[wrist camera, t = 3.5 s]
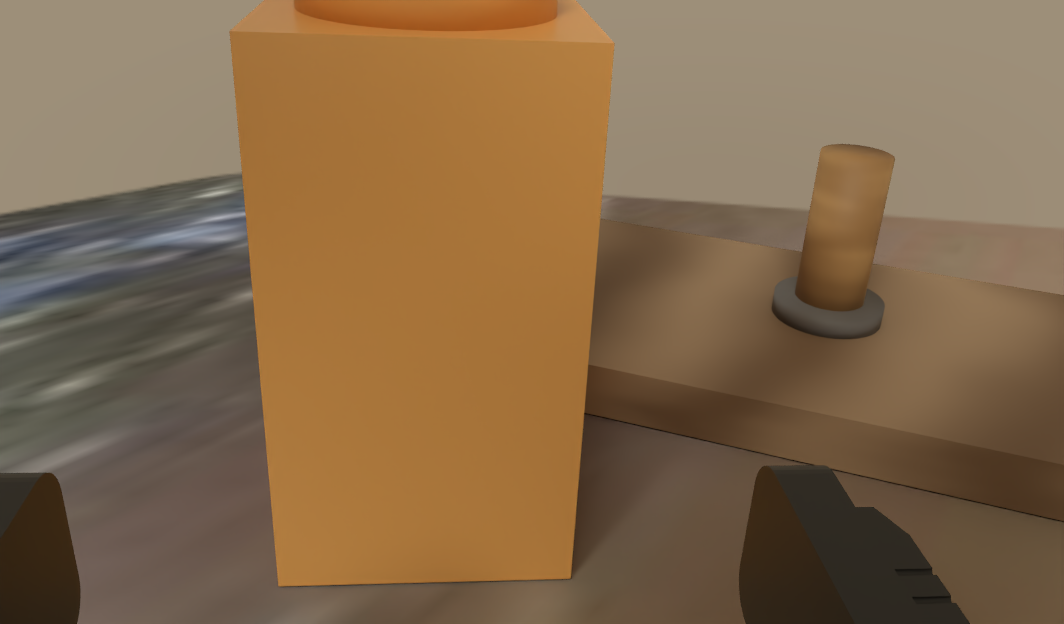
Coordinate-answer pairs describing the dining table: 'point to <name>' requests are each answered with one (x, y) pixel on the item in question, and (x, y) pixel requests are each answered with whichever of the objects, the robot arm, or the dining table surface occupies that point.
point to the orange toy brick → (422, 279)
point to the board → (834, 351)
